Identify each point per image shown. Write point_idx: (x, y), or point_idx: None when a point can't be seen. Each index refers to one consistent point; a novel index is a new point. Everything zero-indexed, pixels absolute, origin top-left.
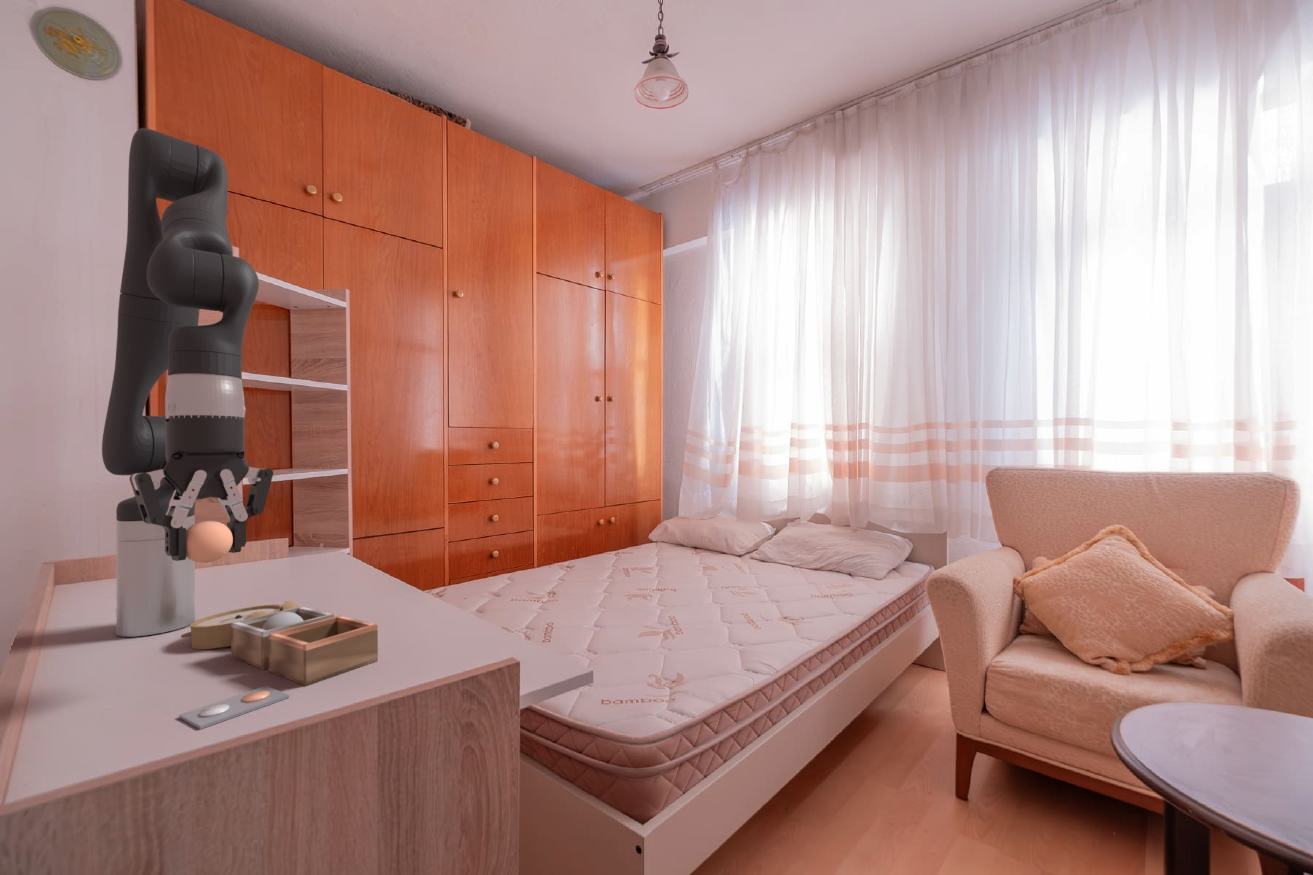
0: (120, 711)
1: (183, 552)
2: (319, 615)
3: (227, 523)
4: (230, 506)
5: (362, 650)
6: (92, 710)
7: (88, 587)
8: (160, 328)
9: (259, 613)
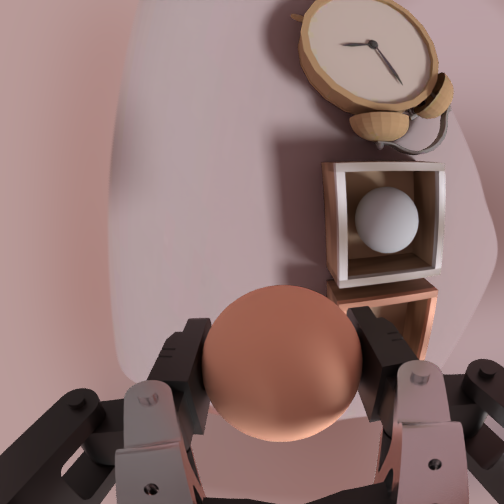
0: (173, 270)
1: None
2: (435, 243)
3: (379, 369)
4: (376, 475)
5: None
6: (152, 238)
7: None
8: None
9: (392, 123)
